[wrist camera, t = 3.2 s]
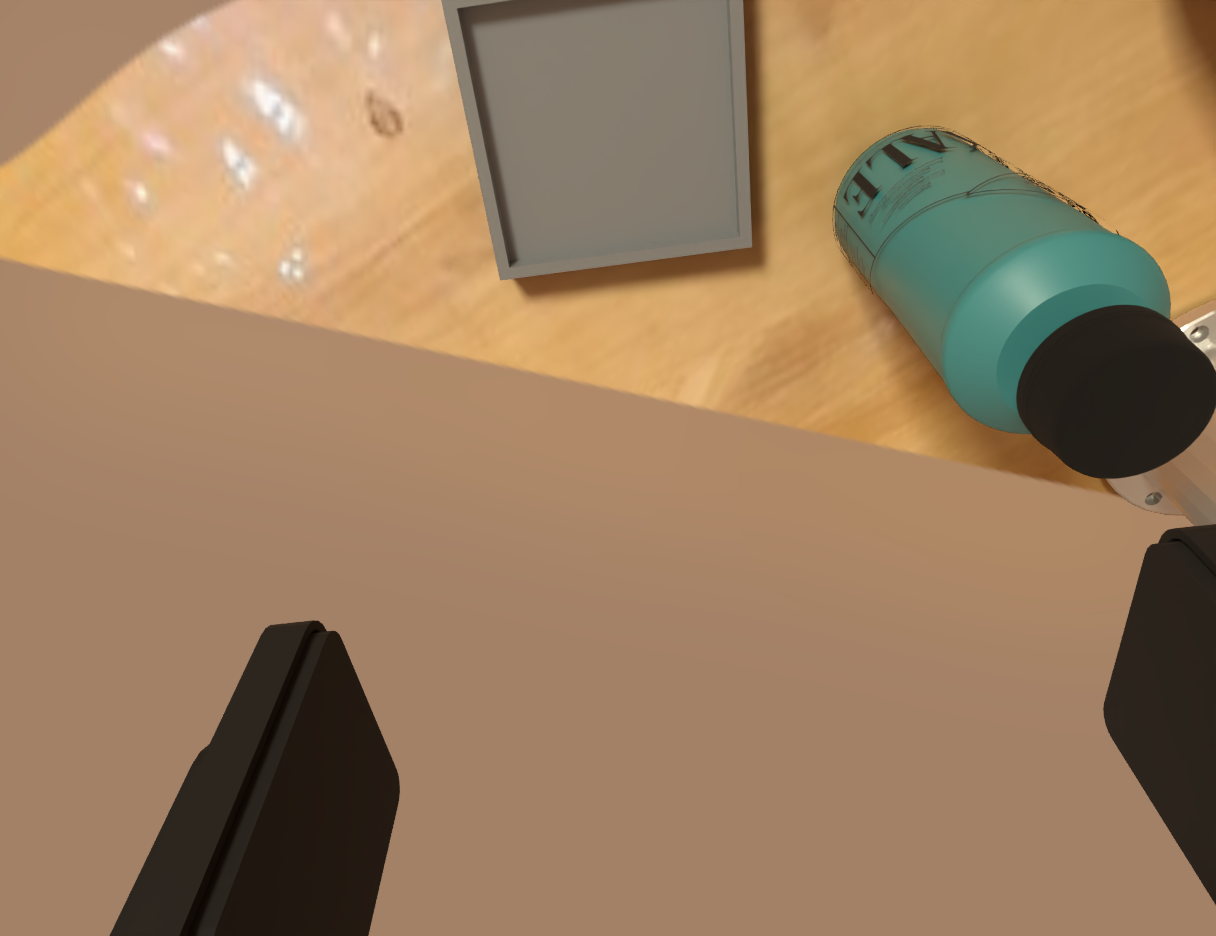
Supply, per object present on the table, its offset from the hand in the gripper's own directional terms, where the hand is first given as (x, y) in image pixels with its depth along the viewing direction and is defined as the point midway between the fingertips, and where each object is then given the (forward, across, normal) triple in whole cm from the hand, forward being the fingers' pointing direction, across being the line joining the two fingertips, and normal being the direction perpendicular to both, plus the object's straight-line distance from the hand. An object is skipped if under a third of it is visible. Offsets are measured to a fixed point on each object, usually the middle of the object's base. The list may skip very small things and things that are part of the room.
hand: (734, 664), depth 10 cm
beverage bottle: (+30, -11, +4) cm, 33 cm away
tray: (+30, +1, 0) cm, 30 cm away
